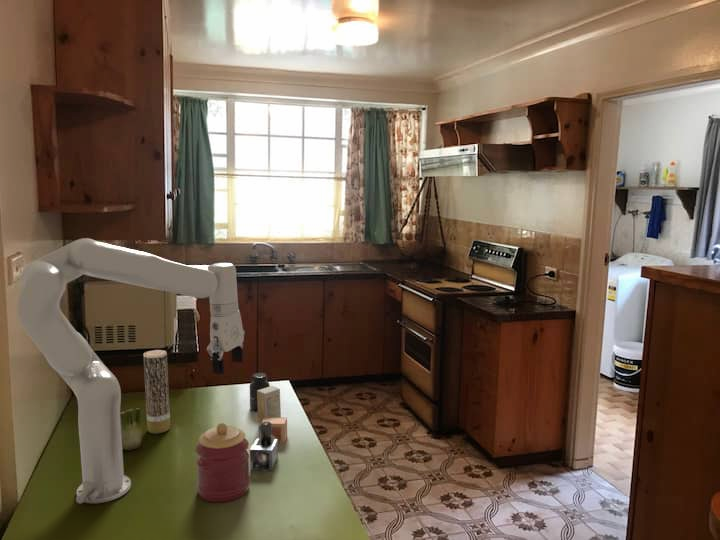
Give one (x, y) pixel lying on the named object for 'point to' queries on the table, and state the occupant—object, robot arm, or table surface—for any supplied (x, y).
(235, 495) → the canister
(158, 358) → the paper tube
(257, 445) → the sleeve
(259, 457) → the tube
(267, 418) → the socket
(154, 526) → the table surface
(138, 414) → the fennel bulb
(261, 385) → the supplement bottle
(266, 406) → the skincare box
